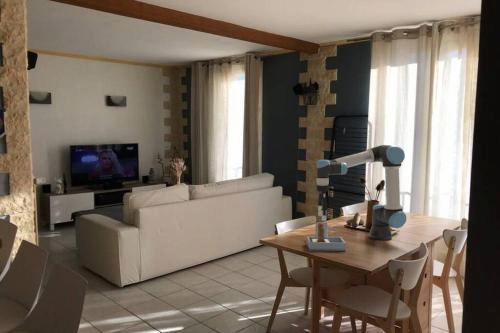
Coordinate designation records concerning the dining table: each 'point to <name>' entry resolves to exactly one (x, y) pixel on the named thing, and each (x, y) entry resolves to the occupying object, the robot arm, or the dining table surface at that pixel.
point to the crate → (326, 244)
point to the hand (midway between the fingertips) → (322, 218)
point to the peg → (321, 232)
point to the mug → (324, 230)
